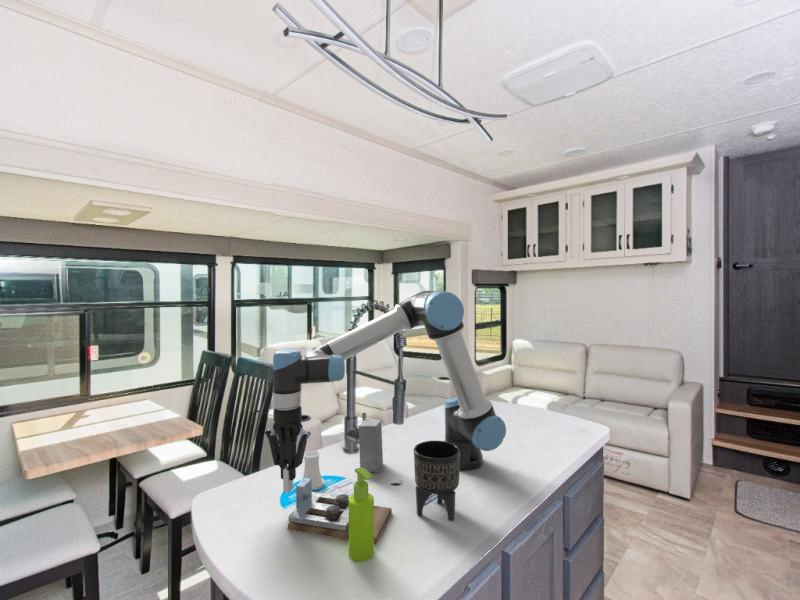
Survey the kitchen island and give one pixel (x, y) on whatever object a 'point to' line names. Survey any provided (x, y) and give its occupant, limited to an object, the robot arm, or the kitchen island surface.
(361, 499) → the soap dispenser
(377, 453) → the skincare box
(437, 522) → the kitchen island surface
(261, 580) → the kitchen island surface
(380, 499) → the kitchen island surface
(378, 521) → the board
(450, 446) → the planter
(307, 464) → the salt shaker
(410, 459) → the kitchen island surface
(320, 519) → the slider knob panel
